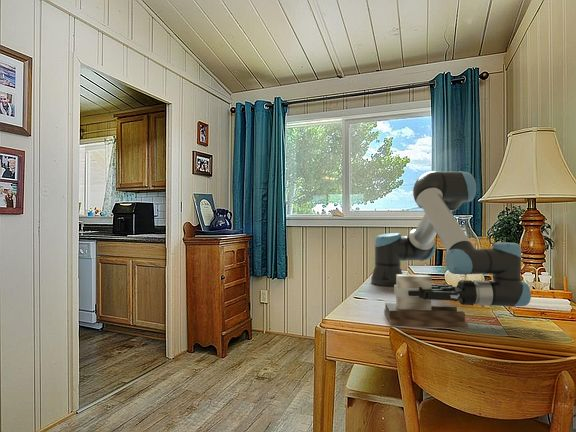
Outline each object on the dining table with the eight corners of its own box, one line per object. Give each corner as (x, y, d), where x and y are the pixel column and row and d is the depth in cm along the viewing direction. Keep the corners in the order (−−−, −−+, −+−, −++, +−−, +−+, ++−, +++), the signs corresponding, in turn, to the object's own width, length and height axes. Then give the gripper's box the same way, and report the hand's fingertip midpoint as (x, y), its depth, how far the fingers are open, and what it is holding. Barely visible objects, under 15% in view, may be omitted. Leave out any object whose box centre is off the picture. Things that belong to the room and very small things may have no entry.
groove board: (452, 314, 123) (452, 303, 123) (467, 328, 109) (467, 315, 109) (384, 312, 126) (384, 301, 126) (390, 325, 112) (390, 312, 112)
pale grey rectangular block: (428, 312, 119) (428, 274, 119) (431, 315, 116) (431, 276, 115) (396, 311, 120) (396, 274, 120) (398, 314, 117) (398, 276, 117)
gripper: (483, 312, 108) (400, 309, 110) (463, 298, 124) (391, 296, 127) (484, 286, 107) (400, 284, 110) (463, 276, 124) (391, 274, 127)
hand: (395, 290), depth 118 cm, fingers closed on pale grey rectangular block, 3 cm apart
